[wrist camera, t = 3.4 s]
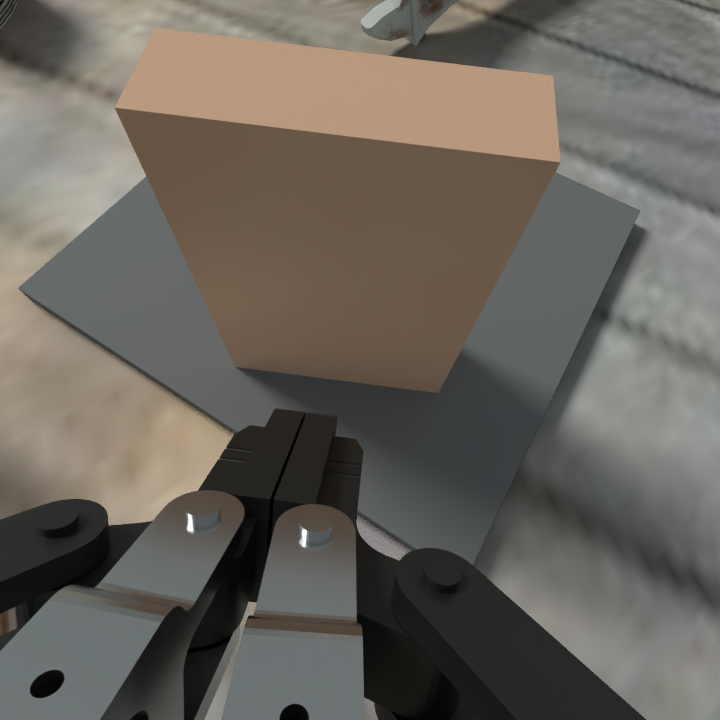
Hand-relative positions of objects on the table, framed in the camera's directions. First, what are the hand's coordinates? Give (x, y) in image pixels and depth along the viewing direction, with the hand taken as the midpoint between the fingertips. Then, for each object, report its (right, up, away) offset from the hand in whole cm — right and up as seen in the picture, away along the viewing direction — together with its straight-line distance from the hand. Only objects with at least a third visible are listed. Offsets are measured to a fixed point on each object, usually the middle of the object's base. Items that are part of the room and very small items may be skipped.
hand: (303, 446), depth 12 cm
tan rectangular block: (0, +2, +12) cm, 13 cm away
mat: (+1, +8, +16) cm, 18 cm away
